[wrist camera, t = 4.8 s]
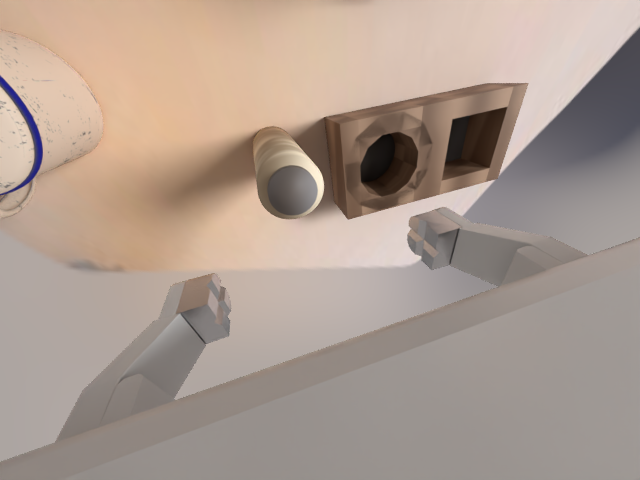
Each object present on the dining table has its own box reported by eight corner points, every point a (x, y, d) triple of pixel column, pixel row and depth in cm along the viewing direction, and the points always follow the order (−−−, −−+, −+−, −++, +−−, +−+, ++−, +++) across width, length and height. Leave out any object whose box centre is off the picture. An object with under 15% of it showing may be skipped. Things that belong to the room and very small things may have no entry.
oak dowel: (288, 122, 24) (321, 150, 14) (297, 164, 26) (330, 214, 16) (246, 131, 23) (248, 167, 13) (259, 173, 26) (269, 230, 16)
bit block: (486, 83, 27) (528, 83, 23) (466, 167, 33) (497, 178, 29) (324, 117, 24) (339, 123, 20) (334, 201, 30) (348, 219, 26)
